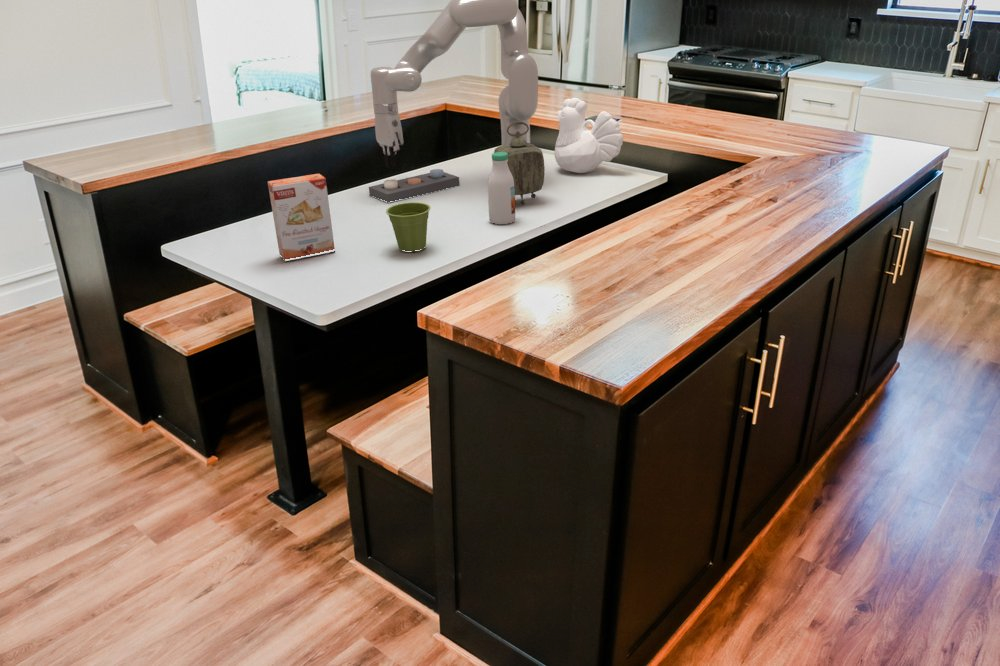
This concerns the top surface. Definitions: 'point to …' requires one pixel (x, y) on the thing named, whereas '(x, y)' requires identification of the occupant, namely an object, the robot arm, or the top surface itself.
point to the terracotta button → (414, 181)
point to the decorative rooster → (585, 138)
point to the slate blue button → (436, 173)
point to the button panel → (414, 187)
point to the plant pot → (409, 224)
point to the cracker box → (301, 215)
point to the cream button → (390, 184)
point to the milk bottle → (501, 191)
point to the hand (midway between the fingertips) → (391, 166)
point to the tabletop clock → (524, 164)
